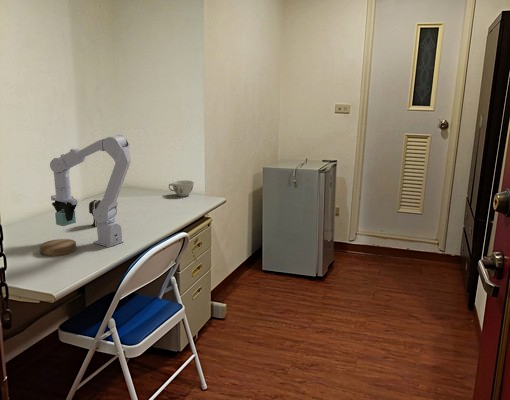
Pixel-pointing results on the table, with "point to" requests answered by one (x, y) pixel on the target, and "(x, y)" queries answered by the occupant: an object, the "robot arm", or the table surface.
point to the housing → (63, 218)
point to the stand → (58, 247)
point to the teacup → (182, 187)
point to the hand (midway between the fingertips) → (65, 219)
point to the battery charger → (92, 207)
